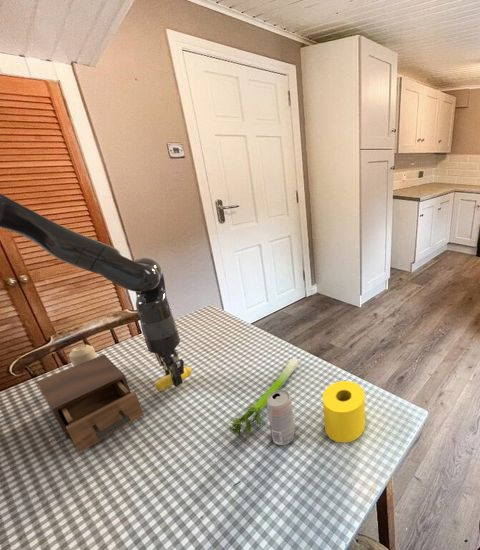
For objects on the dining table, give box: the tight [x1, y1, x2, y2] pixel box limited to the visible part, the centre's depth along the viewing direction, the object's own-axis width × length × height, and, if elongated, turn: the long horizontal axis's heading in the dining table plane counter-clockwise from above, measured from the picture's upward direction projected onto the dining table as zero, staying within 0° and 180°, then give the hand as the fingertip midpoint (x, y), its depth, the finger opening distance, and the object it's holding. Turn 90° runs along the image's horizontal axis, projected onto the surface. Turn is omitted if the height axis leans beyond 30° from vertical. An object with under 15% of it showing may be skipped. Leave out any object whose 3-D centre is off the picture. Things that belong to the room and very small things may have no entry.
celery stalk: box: [229, 358, 301, 437], centre depth 83 cm, size 6×7×30 cm
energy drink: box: [266, 389, 296, 446], centre depth 70 cm, size 5×5×12 cm
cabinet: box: [36, 354, 132, 439], centre depth 80 cm, size 16×14×9 cm
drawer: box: [60, 381, 145, 453], centre depth 74 cm, size 19×13×7 cm
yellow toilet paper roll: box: [322, 380, 366, 443], centre depth 74 cm, size 10×10×9 cm
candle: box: [68, 344, 98, 367], centre depth 91 cm, size 6×6×10 cm
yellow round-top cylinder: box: [154, 365, 193, 391], centre depth 87 cm, size 10×3×3 cm, turn 145°
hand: (175, 381), depth 88 cm, fingers closed on yellow round-top cylinder, 3 cm apart
